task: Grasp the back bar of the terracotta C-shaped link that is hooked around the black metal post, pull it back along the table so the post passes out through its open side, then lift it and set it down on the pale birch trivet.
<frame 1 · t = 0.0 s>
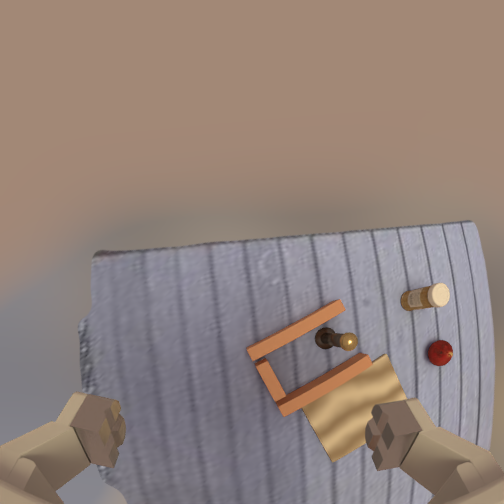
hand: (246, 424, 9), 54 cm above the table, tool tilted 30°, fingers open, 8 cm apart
sprinkles bottle: (408, 300, 65), on the table
trivet: (359, 409, 59), on the table
onion: (431, 352, 62), on the table
post stand: (325, 338, 62), on the table
c link: (307, 356, 61), on the table
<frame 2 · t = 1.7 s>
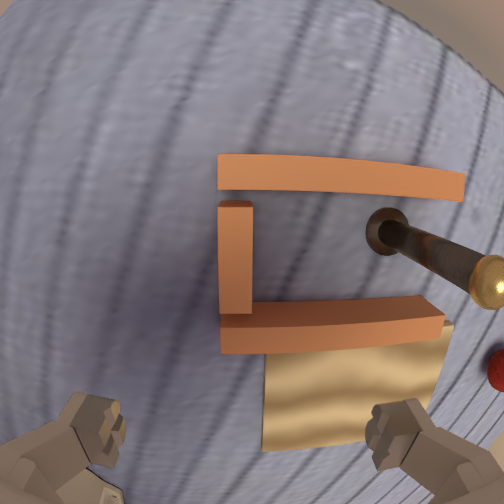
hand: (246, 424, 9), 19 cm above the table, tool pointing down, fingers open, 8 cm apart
trivet: (356, 390, 32), on the table
onion: (490, 356, 33), on the table
post stand: (387, 231, 28), on the table
c link: (335, 246, 28), on the table
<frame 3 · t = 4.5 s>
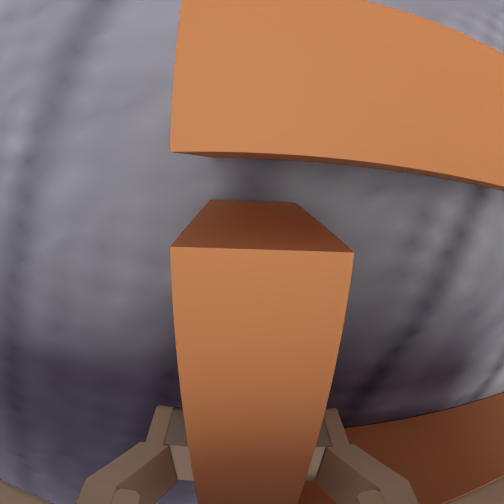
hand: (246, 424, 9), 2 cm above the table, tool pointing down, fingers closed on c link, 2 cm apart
c link: (470, 317, 10), on the table, touching gripper
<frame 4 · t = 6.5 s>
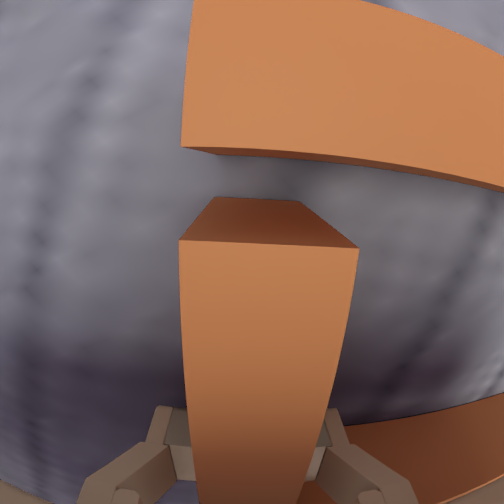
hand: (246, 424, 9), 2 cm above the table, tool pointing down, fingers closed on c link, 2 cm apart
c link: (469, 318, 10), on the table, touching gripper
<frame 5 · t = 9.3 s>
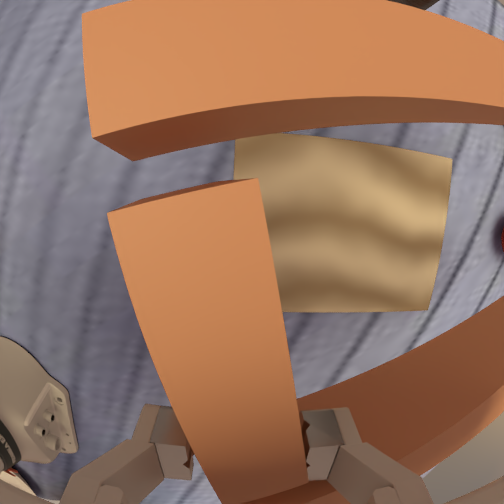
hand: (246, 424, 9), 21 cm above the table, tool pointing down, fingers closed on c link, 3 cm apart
trivet: (346, 228, 29), on the table
candlestick: (0, 463, 43), on the table
onion: (502, 232, 29), on the table
c link: (417, 246, 12), point 16 cm above the table, tilted 13°, touching gripper
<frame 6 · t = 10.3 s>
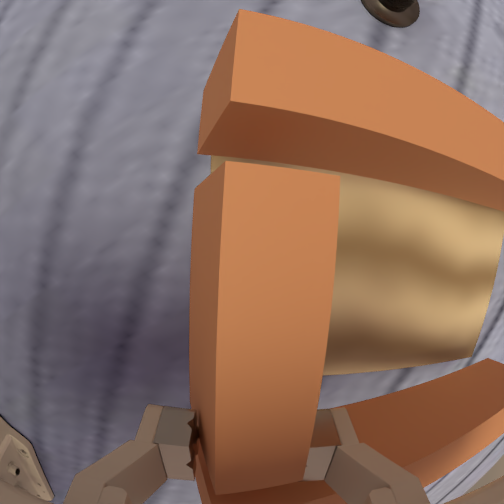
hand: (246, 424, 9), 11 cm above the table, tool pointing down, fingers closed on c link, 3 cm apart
trivet: (378, 258, 19), on the table
post stand: (388, 1, 15), on the table
c link: (410, 297, 14), point 6 cm above the table, tilted 18°, touching gripper
when the fingers open (5 cm above the table, at t = 11.6 s): c link stays where it is, resting on trivet.
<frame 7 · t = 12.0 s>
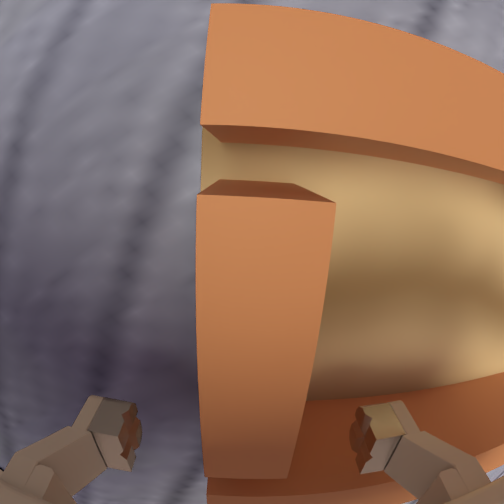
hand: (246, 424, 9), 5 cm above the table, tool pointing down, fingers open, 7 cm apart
trivet: (439, 292, 13), on the table
c link: (455, 295, 12), point 1 cm above the table, touching trivet
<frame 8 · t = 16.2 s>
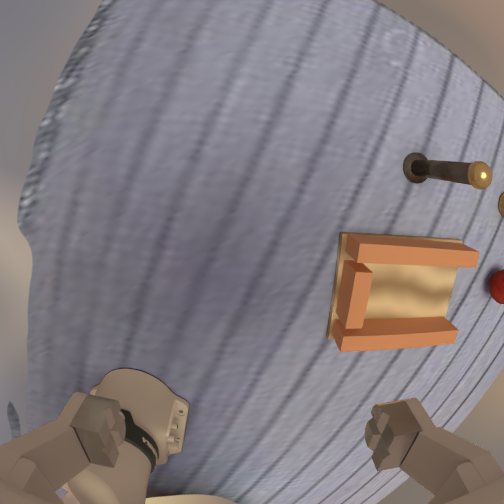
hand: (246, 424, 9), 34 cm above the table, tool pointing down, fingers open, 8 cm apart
trivet: (397, 286, 45), on the table
onion: (491, 279, 45), on the table
post stand: (415, 167, 40), on the table
c link: (401, 287, 44), point 1 cm above the table, touching trivet
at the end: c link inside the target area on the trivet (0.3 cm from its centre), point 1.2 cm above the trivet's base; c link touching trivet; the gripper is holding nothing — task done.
